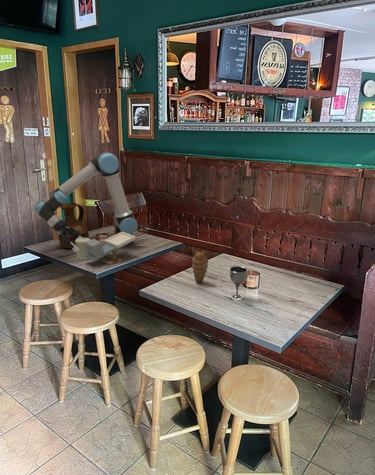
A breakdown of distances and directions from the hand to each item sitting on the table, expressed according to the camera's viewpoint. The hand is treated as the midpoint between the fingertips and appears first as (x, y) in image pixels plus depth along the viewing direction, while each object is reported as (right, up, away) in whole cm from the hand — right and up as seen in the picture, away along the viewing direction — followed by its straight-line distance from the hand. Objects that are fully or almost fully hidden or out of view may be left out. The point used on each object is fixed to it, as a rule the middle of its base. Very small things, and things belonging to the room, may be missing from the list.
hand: (81, 247), depth 234 cm
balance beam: (+19, 0, -3) cm, 19 cm away
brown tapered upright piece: (+72, -18, -32) cm, 81 cm away
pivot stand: (+18, -8, -2) cm, 19 cm away
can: (+1, -6, +2) cm, 7 cm away
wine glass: (+91, -24, -48) cm, 105 cm away
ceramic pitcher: (-12, +1, +24) cm, 27 cm away
